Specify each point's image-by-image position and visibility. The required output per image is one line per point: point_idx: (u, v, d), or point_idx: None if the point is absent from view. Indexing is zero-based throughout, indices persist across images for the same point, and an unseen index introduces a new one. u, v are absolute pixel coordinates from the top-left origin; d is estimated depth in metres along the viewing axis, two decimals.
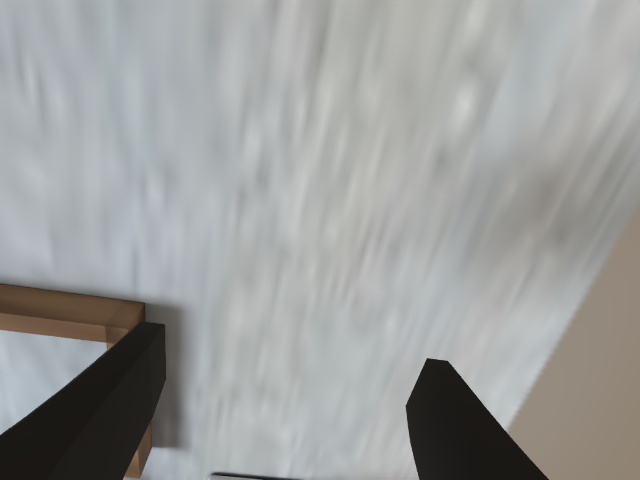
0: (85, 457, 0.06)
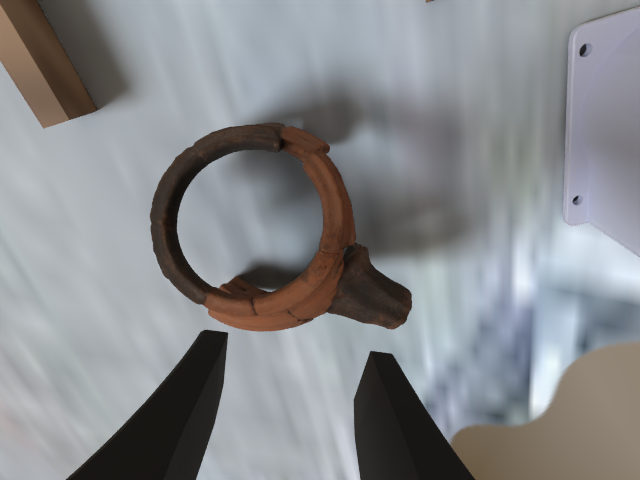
0: (178, 466, 0.07)
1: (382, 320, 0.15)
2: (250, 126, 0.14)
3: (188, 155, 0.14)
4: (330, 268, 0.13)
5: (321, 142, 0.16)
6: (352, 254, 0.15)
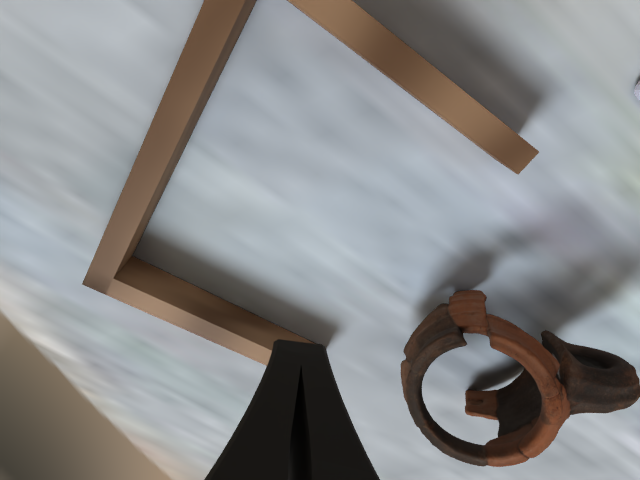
0: None
1: (622, 406, 0.18)
2: (438, 340, 0.19)
3: (414, 378, 0.20)
4: (561, 406, 0.17)
5: (481, 303, 0.20)
6: (562, 371, 0.19)
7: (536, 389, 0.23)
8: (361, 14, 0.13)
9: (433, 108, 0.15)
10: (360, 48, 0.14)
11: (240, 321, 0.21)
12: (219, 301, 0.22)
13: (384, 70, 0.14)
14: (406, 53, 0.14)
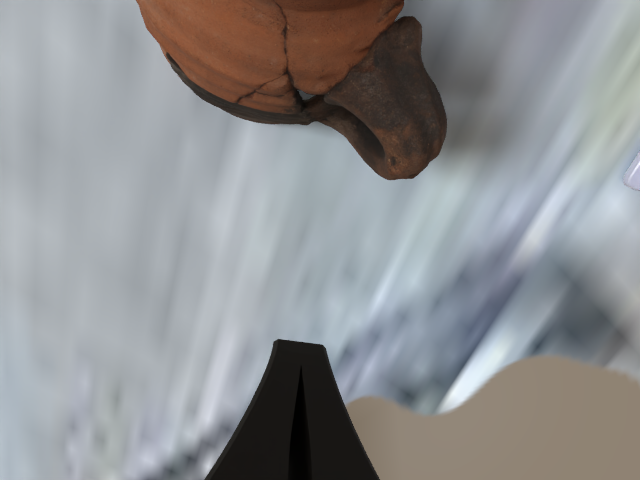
0: None
1: (405, 137, 0.10)
2: None
3: None
4: None
5: None
6: None
7: None
8: None
9: None
10: None
11: None
12: None
13: None
14: None
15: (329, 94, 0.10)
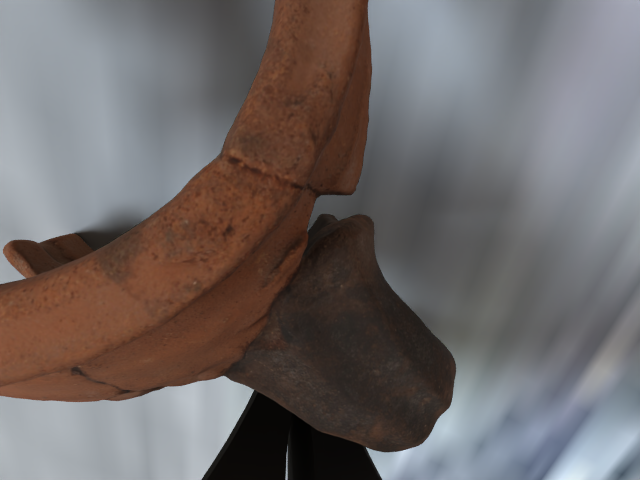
0: None
1: (377, 437, 0.05)
2: None
3: None
4: (249, 243, 0.03)
5: None
6: (336, 225, 0.05)
7: None
8: None
9: None
10: None
11: None
12: None
13: None
14: None
15: (228, 376, 0.05)
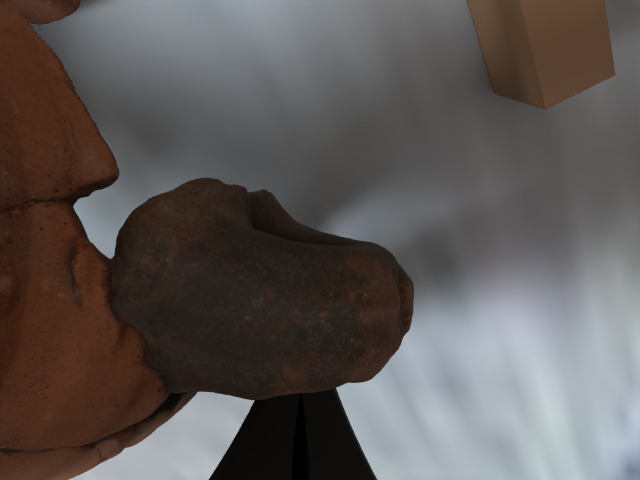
0: None
1: (302, 378, 0.05)
2: None
3: None
4: None
5: None
6: None
7: None
8: None
9: None
10: None
11: None
12: None
13: None
14: None
15: (173, 391, 0.06)
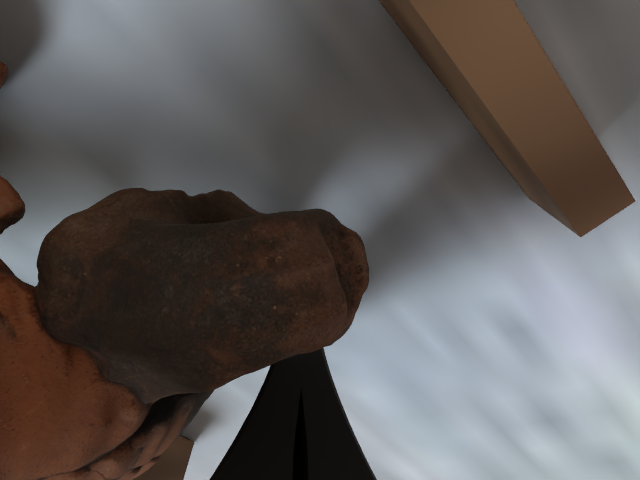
0: None
1: (235, 358, 0.04)
2: None
3: None
4: None
5: None
6: None
7: None
8: None
9: (450, 52, 0.06)
10: None
11: None
12: None
13: None
14: None
15: (148, 401, 0.06)
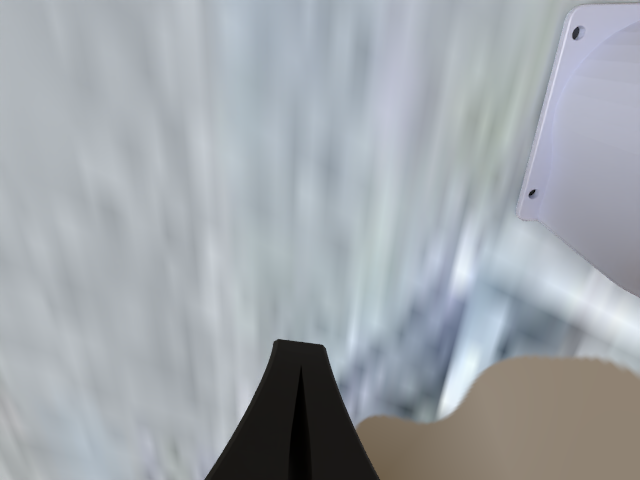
0: None
1: None
2: None
3: None
4: None
5: None
6: None
7: None
8: None
9: None
10: None
11: None
12: None
13: None
14: None
15: None
